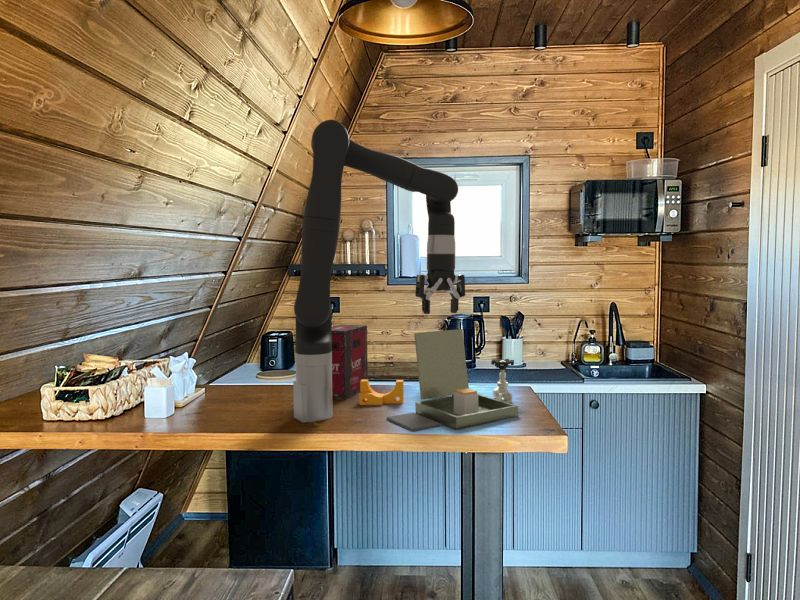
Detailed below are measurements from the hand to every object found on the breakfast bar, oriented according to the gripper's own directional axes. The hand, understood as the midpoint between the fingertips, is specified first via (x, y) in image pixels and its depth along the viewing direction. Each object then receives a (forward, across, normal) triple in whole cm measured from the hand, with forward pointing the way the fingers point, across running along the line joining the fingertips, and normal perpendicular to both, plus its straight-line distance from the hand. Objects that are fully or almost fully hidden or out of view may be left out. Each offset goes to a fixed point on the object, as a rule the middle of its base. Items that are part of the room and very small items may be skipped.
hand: (440, 313), depth 149 cm
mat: (+26, -13, -8) cm, 30 cm away
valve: (+26, +19, -3) cm, 32 cm away
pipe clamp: (+26, -11, +13) cm, 32 cm away
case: (+26, +2, -9) cm, 28 cm away
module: (+25, +2, -9) cm, 27 cm away
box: (+26, -15, +31) cm, 43 cm away
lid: (+22, +2, 0) cm, 22 cm away
